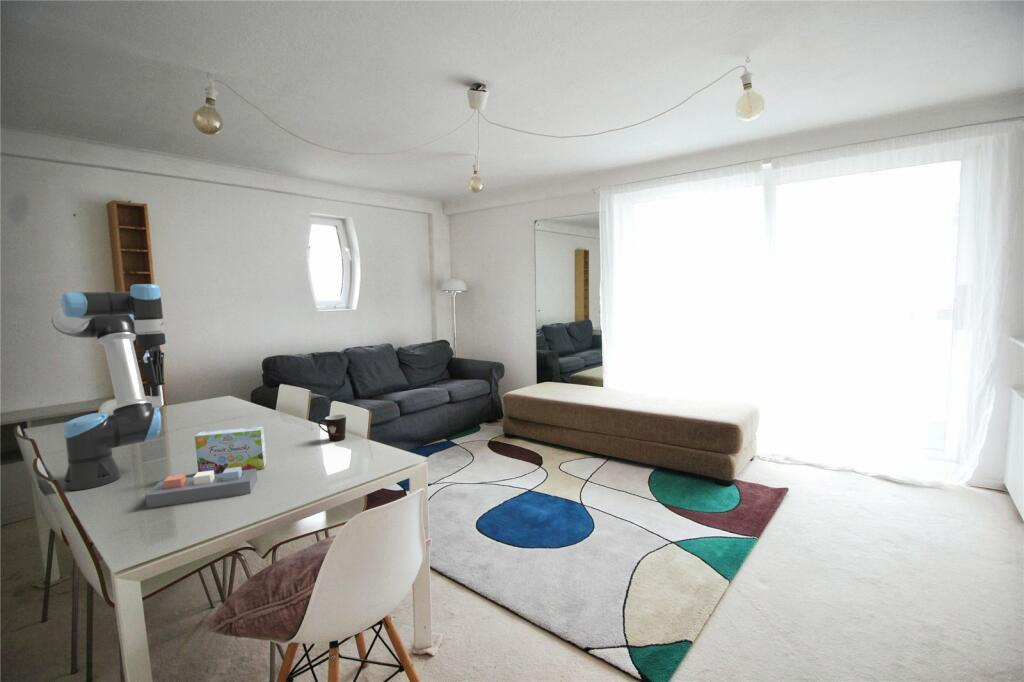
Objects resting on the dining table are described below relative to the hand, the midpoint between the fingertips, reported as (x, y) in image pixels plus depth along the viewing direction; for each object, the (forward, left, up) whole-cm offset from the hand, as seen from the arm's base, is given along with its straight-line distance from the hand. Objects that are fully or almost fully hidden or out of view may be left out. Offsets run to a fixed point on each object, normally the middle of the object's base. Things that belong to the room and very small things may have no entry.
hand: (157, 405), depth 156 cm
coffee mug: (+51, +38, -29) cm, 70 cm away
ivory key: (+13, -8, -26) cm, 30 cm away
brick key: (+5, -8, -26) cm, 28 cm away
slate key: (+21, -8, -26) cm, 35 cm away
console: (+13, -8, -28) cm, 32 cm away
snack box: (+17, +12, -29) cm, 35 cm away
